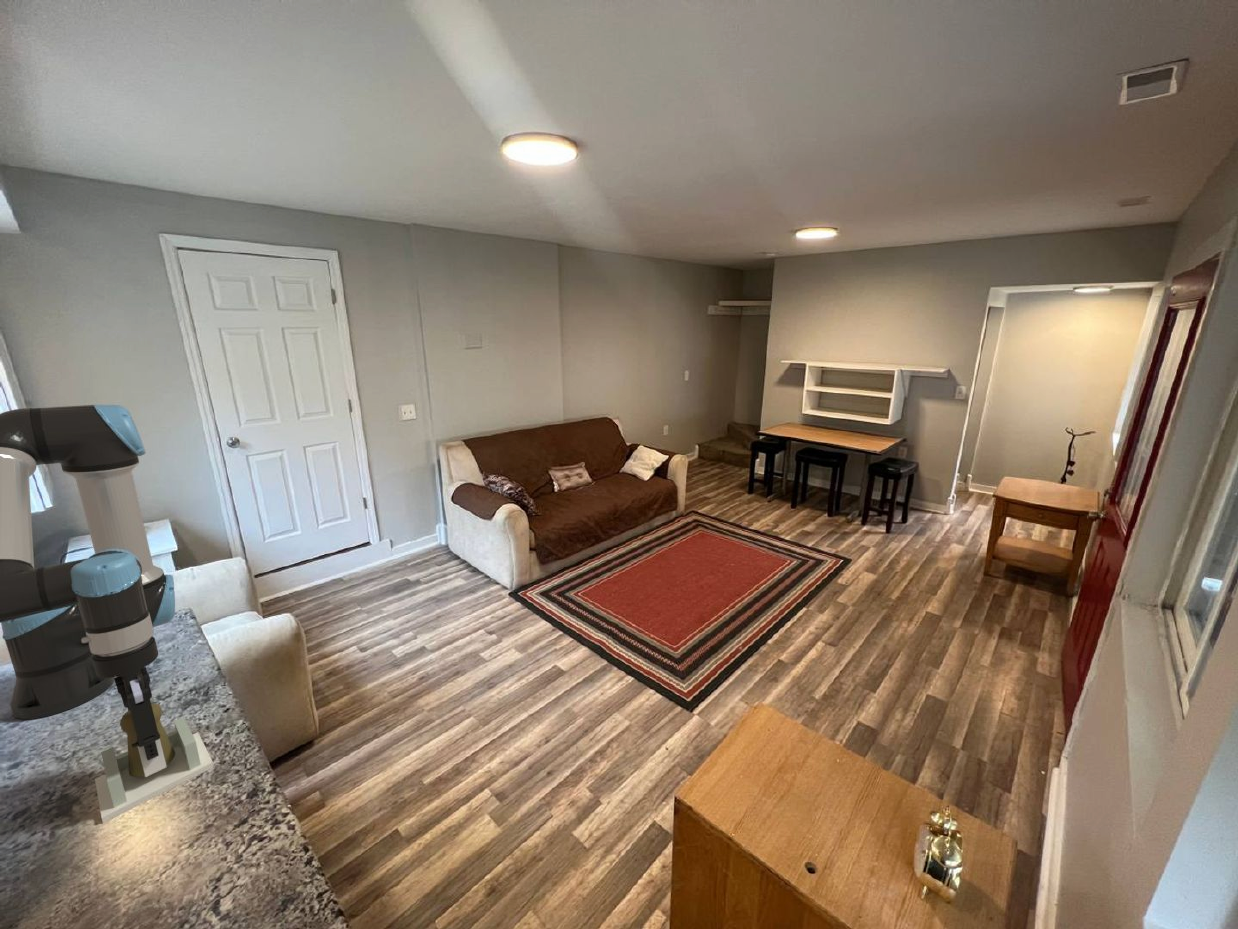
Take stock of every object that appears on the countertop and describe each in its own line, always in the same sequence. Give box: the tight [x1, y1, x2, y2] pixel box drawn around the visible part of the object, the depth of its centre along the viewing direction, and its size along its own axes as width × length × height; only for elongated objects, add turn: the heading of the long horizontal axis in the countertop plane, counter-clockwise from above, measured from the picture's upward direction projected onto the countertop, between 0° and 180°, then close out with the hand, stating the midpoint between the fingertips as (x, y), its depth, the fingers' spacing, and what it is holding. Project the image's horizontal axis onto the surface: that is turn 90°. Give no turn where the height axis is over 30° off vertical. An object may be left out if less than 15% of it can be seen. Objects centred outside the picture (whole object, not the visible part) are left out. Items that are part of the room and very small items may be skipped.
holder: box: [94, 716, 215, 824], centre depth 85 cm, size 12×14×6 cm
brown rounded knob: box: [119, 702, 176, 777], centre depth 84 cm, size 6×6×11 cm
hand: (152, 761), depth 85 cm, fingers closed on brown rounded knob, 6 cm apart
